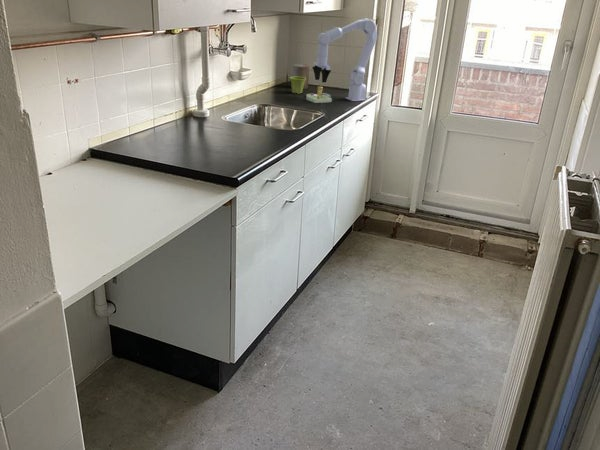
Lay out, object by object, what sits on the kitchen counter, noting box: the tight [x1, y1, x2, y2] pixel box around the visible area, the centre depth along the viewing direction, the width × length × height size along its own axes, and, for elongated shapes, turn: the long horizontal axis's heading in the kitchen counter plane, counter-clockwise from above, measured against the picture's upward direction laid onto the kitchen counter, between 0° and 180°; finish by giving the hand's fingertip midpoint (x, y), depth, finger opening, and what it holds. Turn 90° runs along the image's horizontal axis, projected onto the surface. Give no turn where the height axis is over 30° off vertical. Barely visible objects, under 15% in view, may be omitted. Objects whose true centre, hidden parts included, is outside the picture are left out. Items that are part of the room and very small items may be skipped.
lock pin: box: [316, 86, 324, 99], centre depth 297 cm, size 3×3×7 cm
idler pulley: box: [305, 93, 317, 96], centre depth 306 cm, size 7×7×2 cm
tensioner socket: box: [322, 92, 332, 99], centre depth 309 cm, size 6×6×2 cm
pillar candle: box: [292, 63, 310, 90], centre depth 327 cm, size 10×10×15 cm
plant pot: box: [289, 76, 306, 95], centre depth 314 cm, size 9×9×9 cm
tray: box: [305, 95, 333, 104], centre depth 298 cm, size 11×9×2 cm
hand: (320, 81), depth 300 cm, fingers open, 7 cm apart
